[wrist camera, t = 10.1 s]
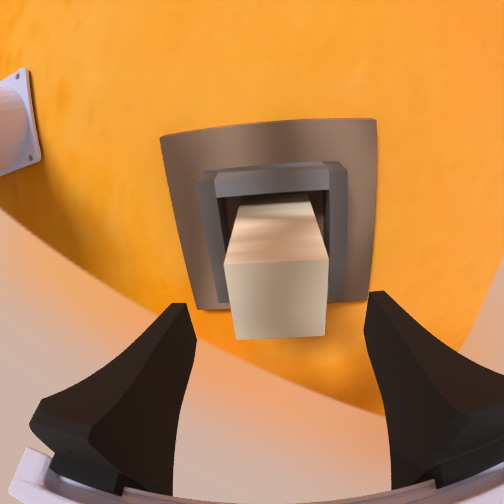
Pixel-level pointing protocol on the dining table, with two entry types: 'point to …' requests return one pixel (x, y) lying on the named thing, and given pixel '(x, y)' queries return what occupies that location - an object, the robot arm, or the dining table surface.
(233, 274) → the square peg
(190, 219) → the socket block
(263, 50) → the dining table surface
